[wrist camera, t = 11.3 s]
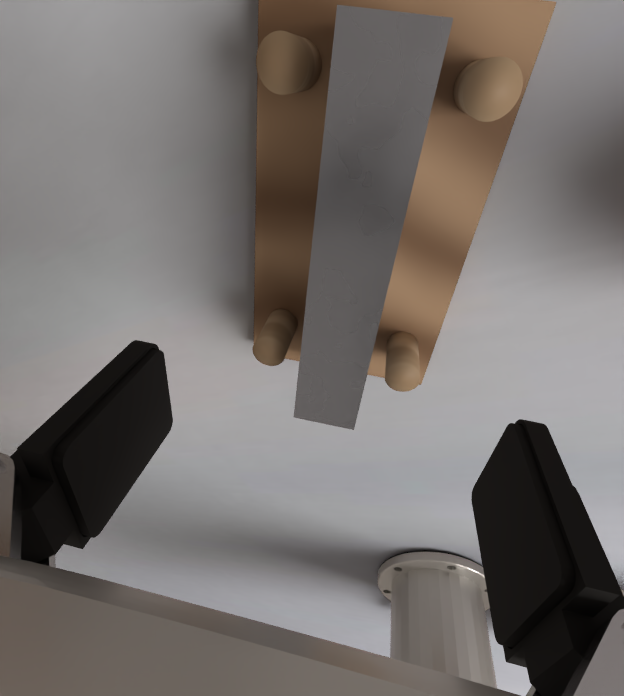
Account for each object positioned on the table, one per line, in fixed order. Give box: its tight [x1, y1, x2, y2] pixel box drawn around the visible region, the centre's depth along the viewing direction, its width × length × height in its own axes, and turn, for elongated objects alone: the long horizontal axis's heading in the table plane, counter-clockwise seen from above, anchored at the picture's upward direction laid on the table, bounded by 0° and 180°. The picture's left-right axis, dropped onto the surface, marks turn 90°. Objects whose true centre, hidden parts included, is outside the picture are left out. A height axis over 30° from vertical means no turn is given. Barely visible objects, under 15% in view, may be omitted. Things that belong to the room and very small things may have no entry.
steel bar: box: [294, 5, 453, 430], centre depth 19 cm, size 18×4×6 cm, turn 174°
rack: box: [253, 0, 556, 392], centre depth 21 cm, size 20×12×5 cm, turn 174°
